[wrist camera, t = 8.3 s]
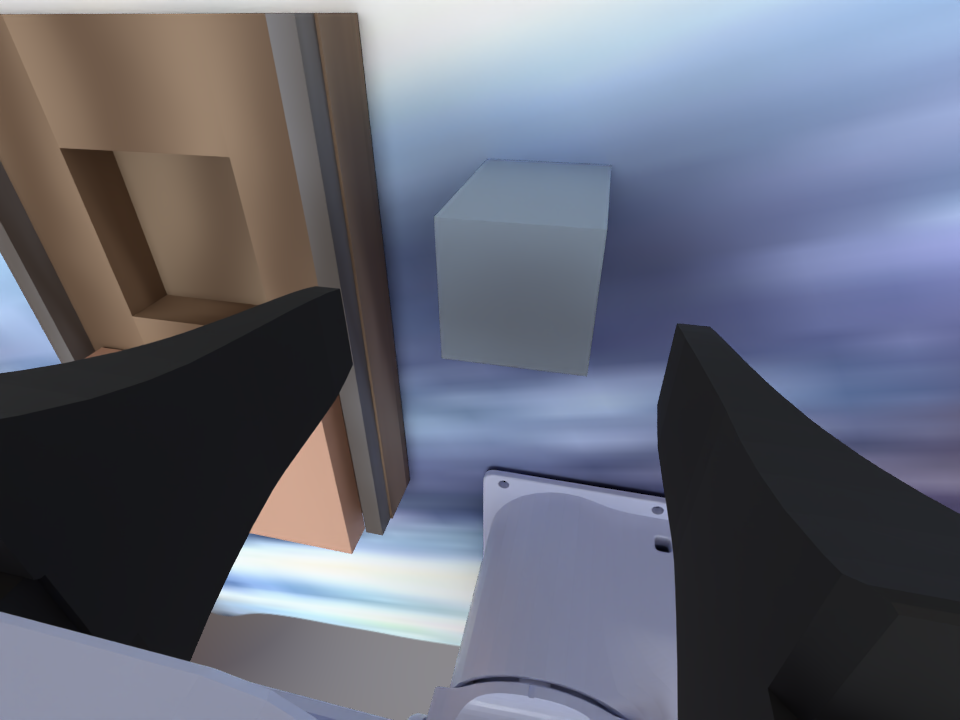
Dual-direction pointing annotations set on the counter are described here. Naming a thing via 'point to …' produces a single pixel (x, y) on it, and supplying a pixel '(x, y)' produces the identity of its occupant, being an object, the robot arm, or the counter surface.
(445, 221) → the block
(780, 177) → the counter surface
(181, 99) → the board
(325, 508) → the lid
